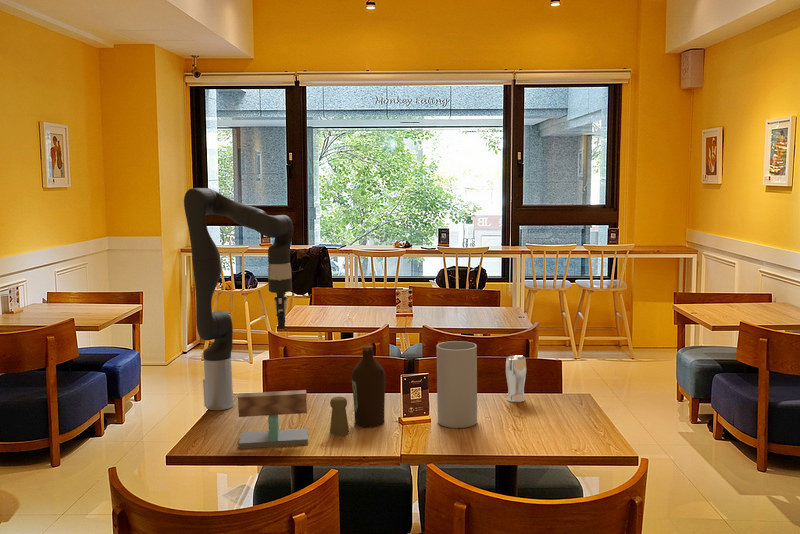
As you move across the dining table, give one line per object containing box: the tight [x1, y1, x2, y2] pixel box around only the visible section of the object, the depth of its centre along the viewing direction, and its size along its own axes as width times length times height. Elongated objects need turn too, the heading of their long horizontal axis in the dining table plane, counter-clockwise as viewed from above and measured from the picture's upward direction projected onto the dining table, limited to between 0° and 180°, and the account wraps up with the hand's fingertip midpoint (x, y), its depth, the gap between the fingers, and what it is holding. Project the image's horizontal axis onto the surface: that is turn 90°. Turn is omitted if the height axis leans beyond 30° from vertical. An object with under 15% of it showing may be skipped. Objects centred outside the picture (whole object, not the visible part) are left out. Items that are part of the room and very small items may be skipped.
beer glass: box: [505, 355, 527, 403], centre depth 273 cm, size 7×7×15 cm
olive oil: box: [351, 344, 386, 428], centre depth 251 cm, size 11×11×25 cm
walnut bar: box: [237, 389, 308, 418], centre depth 236 cm, size 20×4×6 cm, turn 97°
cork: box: [329, 396, 350, 436], centre depth 243 cm, size 6×6×11 cm
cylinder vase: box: [436, 340, 478, 429], centre depth 249 cm, size 12×12×25 cm
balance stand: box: [238, 415, 309, 449], centre depth 237 cm, size 20×10×8 cm, turn 97°
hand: (281, 326), depth 258 cm, fingers open, 8 cm apart
